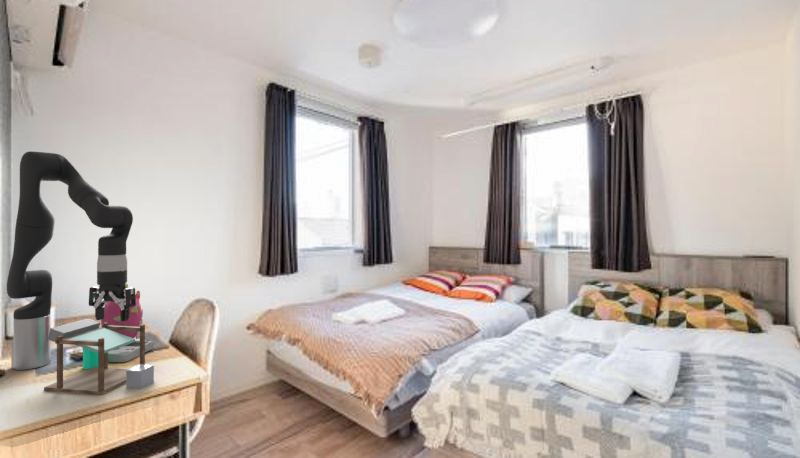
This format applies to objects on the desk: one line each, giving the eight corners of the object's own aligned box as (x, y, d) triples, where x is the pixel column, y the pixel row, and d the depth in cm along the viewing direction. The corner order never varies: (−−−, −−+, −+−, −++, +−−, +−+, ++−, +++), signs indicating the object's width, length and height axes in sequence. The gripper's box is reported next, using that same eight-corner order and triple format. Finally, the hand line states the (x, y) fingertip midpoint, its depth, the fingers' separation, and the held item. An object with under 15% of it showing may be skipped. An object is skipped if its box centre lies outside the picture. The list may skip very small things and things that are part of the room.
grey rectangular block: (141, 371, 114) (141, 389, 114) (153, 365, 119) (153, 382, 119) (126, 370, 114) (126, 387, 114) (139, 364, 119) (139, 381, 119)
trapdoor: (47, 339, 113) (50, 328, 113) (85, 328, 125) (87, 318, 125) (100, 358, 111) (103, 347, 111) (133, 345, 123) (136, 335, 123)
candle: (92, 369, 127) (92, 335, 127) (78, 368, 128) (78, 333, 128) (109, 363, 133) (109, 330, 133) (95, 361, 134) (95, 328, 134)
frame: (44, 390, 112) (44, 335, 111) (94, 369, 127) (94, 321, 127) (101, 395, 109) (101, 339, 109) (145, 373, 125) (145, 324, 125)
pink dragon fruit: (140, 348, 148) (140, 273, 148) (96, 354, 142) (97, 275, 141) (144, 336, 164) (144, 268, 163) (105, 341, 157) (105, 270, 156)
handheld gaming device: (101, 363, 134) (101, 352, 134) (131, 349, 149) (131, 339, 149) (125, 364, 134) (125, 353, 134) (153, 350, 149) (153, 340, 149)
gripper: (80, 269, 114) (80, 322, 114) (122, 271, 112) (122, 324, 113) (103, 266, 122) (102, 316, 122) (142, 268, 120) (142, 318, 120)
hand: (112, 320), depth 117 cm, fingers open, 8 cm apart
